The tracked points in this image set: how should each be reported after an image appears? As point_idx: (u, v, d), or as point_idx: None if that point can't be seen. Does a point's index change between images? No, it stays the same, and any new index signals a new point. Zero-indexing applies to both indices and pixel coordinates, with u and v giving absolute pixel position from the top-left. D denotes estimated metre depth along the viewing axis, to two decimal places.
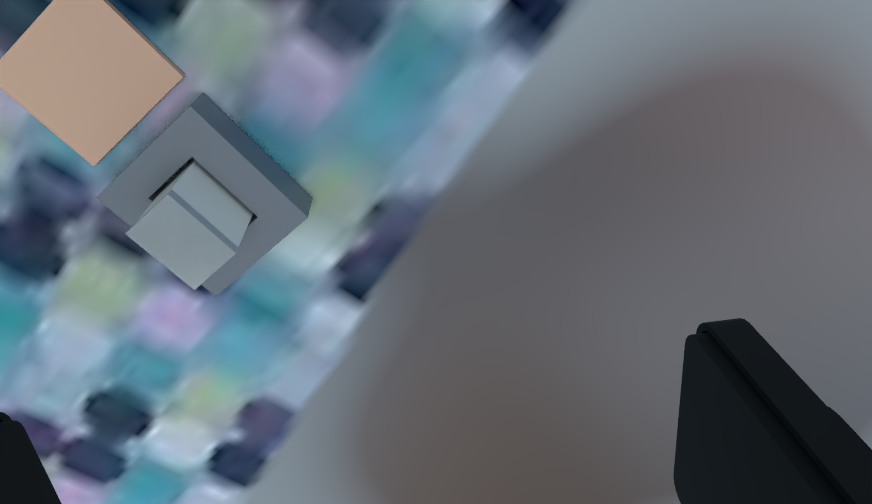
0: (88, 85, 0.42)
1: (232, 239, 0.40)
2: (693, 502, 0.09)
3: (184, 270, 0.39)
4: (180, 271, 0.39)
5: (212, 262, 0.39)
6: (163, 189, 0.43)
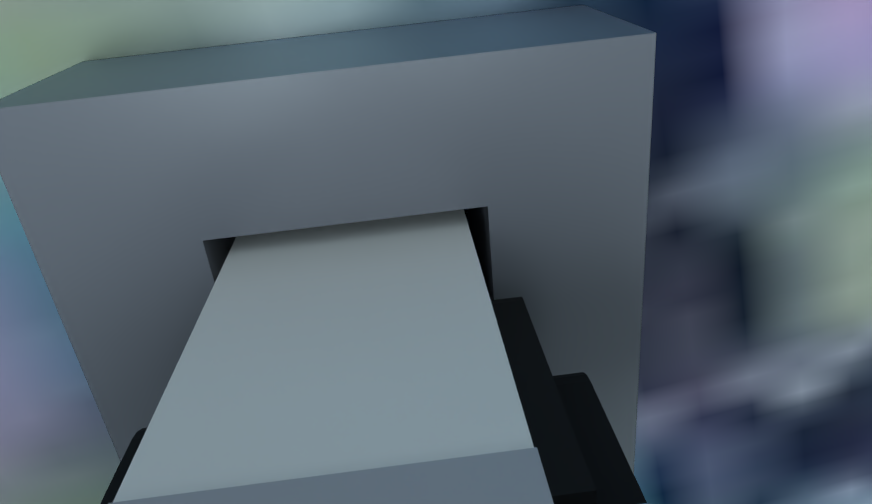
0: None
1: None
2: None
3: None
4: None
5: None
6: None
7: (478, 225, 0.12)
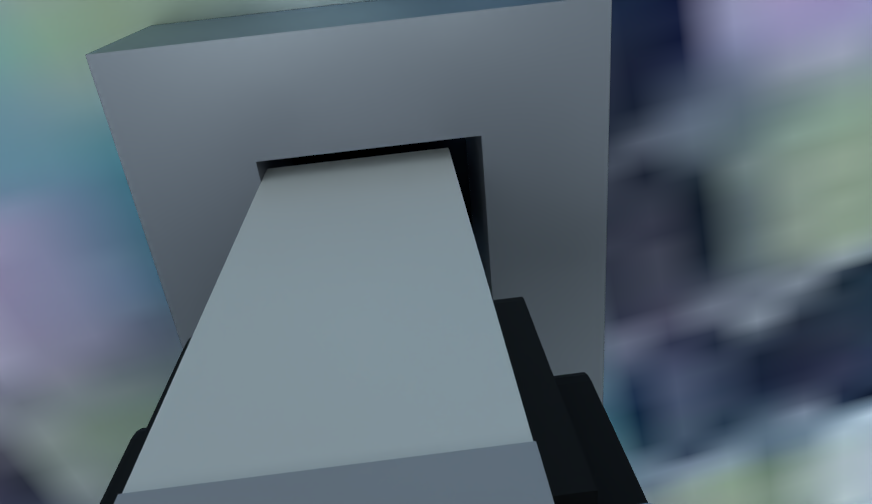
0: None
1: None
2: None
3: None
4: None
5: None
6: None
7: (474, 159, 0.14)
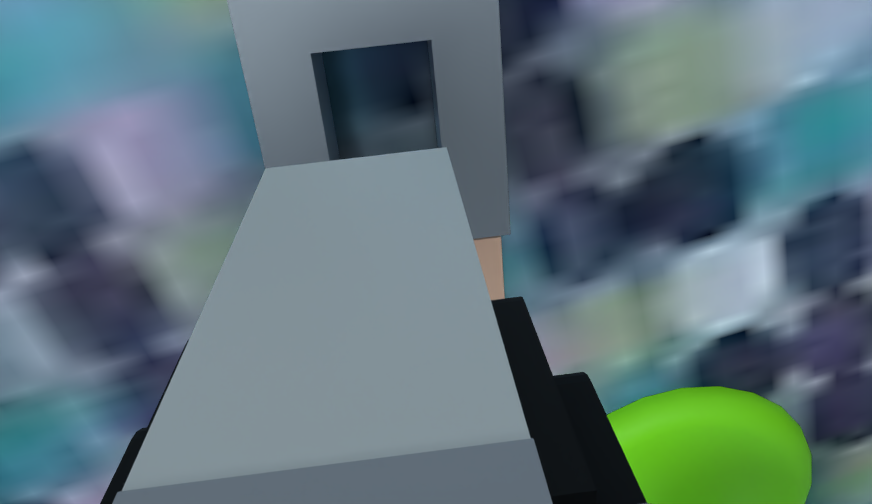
0: None
1: None
2: None
3: None
4: None
5: None
6: None
7: (431, 60, 0.25)
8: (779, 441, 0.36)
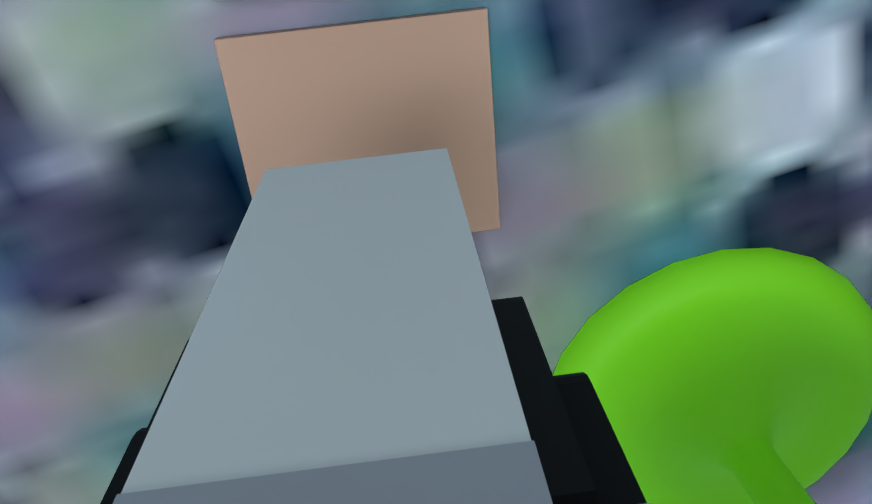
0: (375, 128, 0.23)
1: None
2: None
3: None
4: None
5: None
6: None
7: None
8: (846, 320, 0.28)
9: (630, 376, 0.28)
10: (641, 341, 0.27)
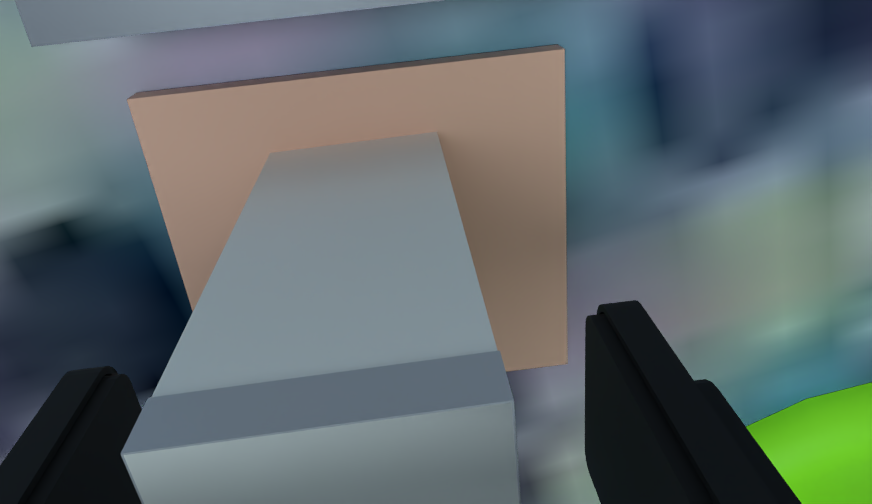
0: None
1: None
2: (597, 474, 0.10)
3: None
4: None
5: (293, 473, 0.06)
6: None
7: None
8: None
9: None
10: None
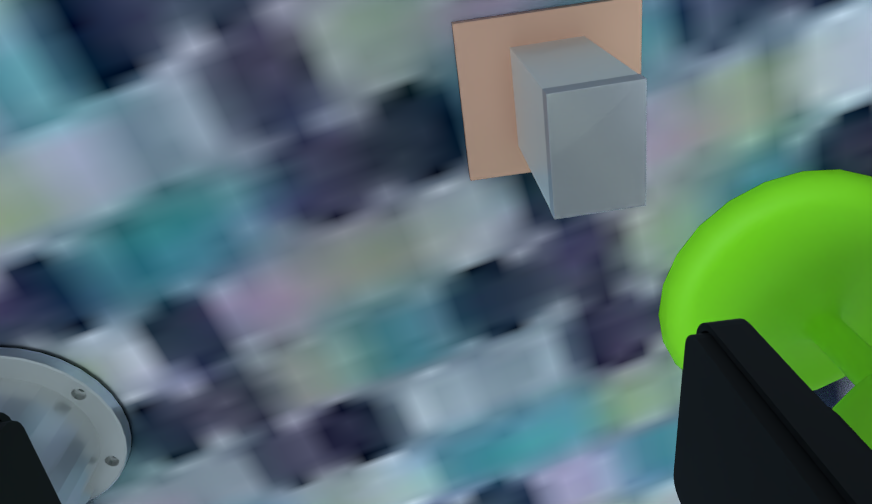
0: None
1: (541, 101, 0.25)
2: (693, 502, 0.09)
3: (630, 115, 0.24)
4: (636, 117, 0.24)
5: (587, 102, 0.24)
6: None
7: None
8: None
9: (730, 270, 0.38)
10: (740, 241, 0.37)
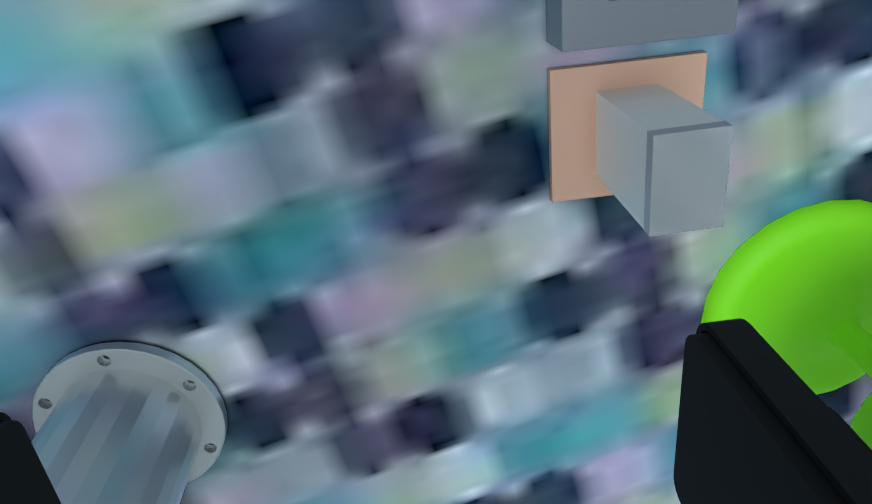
0: None
1: (644, 140, 0.31)
2: (693, 502, 0.09)
3: (717, 154, 0.30)
4: (722, 155, 0.30)
5: (685, 142, 0.30)
6: None
7: None
8: None
9: (766, 284, 0.44)
10: (776, 259, 0.43)
